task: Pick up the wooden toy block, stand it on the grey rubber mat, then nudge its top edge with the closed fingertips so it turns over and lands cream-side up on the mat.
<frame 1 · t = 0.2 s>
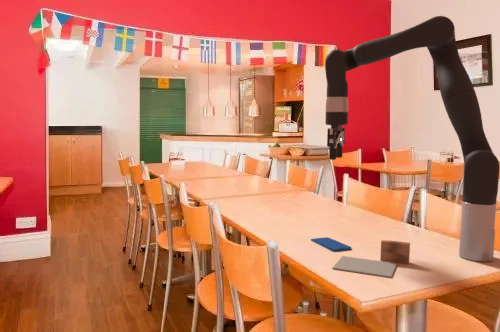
hand: (335, 158, 154), 29 cm above the table, fingers open, 8 cm apart
mat: (365, 266, 129), on the table
wooden toy block: (394, 261, 134), on the table
smartphone: (330, 246, 152), on the table
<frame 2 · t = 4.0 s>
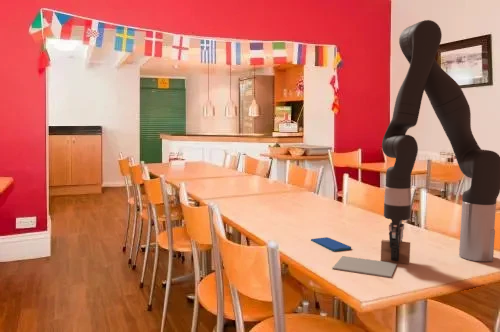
hand: (395, 259, 134), 1 cm above the table, fingers closed on wooden toy block, 2 cm apart
wooden toy block: (395, 261, 134), on the table, touching gripper
everything else where it was.
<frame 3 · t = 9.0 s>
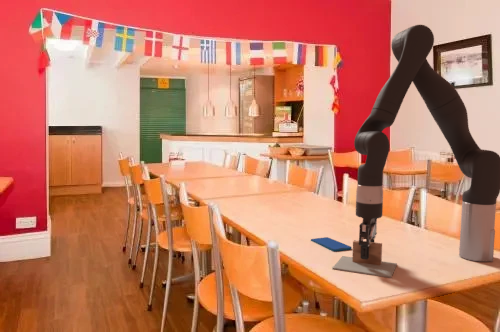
hand: (367, 254, 131), 3 cm above the table, fingers open, 8 cm apart
wooden toy block: (366, 262, 132), resting on mat
everything else where it was.
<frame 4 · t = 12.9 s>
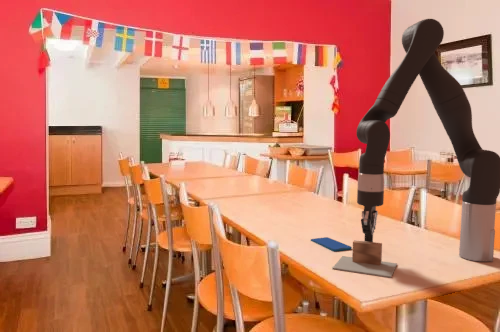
hand: (368, 246, 134), 5 cm above the table, fingers closed
wooden toy block: (366, 262, 132), resting on mat, touching gripper
everything else where it was.
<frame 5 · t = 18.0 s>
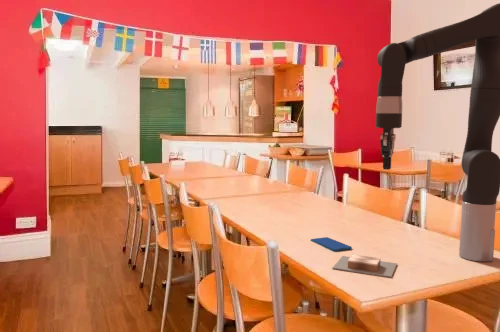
hand: (386, 169, 137), 27 cm above the table, fingers closed
wooden toy block: (366, 259, 130), point 1 cm above the table, tilted 90°, touching mat
everything else where it was.
at the end: wooden toy block tilted 90°; wooden toy block inside the target area on the mat (2.3 cm from its centre), point 1.5 cm above the mat's base; the gripper is holding nothing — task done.
